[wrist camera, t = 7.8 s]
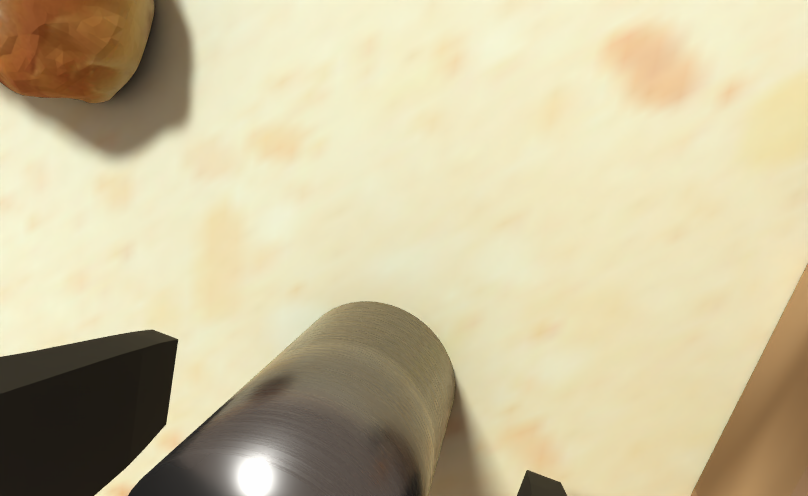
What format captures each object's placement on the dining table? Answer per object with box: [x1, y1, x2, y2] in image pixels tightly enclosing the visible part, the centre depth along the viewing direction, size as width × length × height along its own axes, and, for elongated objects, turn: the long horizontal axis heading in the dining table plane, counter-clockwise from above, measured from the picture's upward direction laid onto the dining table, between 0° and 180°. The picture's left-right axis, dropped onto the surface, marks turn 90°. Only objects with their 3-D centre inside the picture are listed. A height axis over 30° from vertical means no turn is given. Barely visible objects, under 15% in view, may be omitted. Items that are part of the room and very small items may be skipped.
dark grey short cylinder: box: [128, 302, 455, 496], centre depth 10 cm, size 4×4×6 cm
